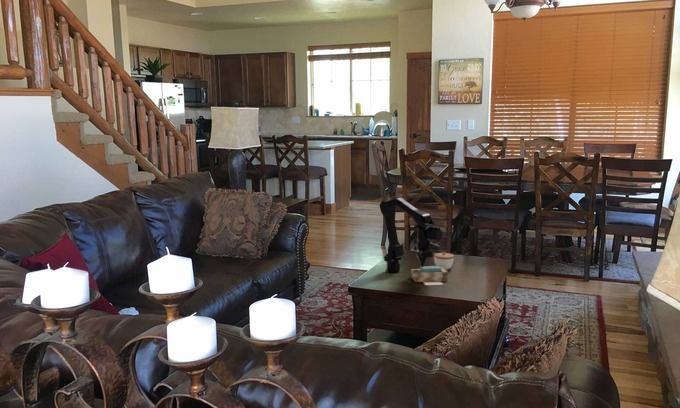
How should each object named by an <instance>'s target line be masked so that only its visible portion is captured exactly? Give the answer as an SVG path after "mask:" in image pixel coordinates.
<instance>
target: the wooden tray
mask: <svg viewBox="0 0 680 408" xmlns="http://www.w3.org/2000/svg"><path fill="white" fill-rule="evenodd" d="M448 275H449V271H448V270H445V269H444V268H443V267H442V268H441V272H421V273H420V268H411V276H410V278H411V279H412V280H413V281H414V282H415V283H421V282H422V283H423V282H448Z"/></svg>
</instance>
